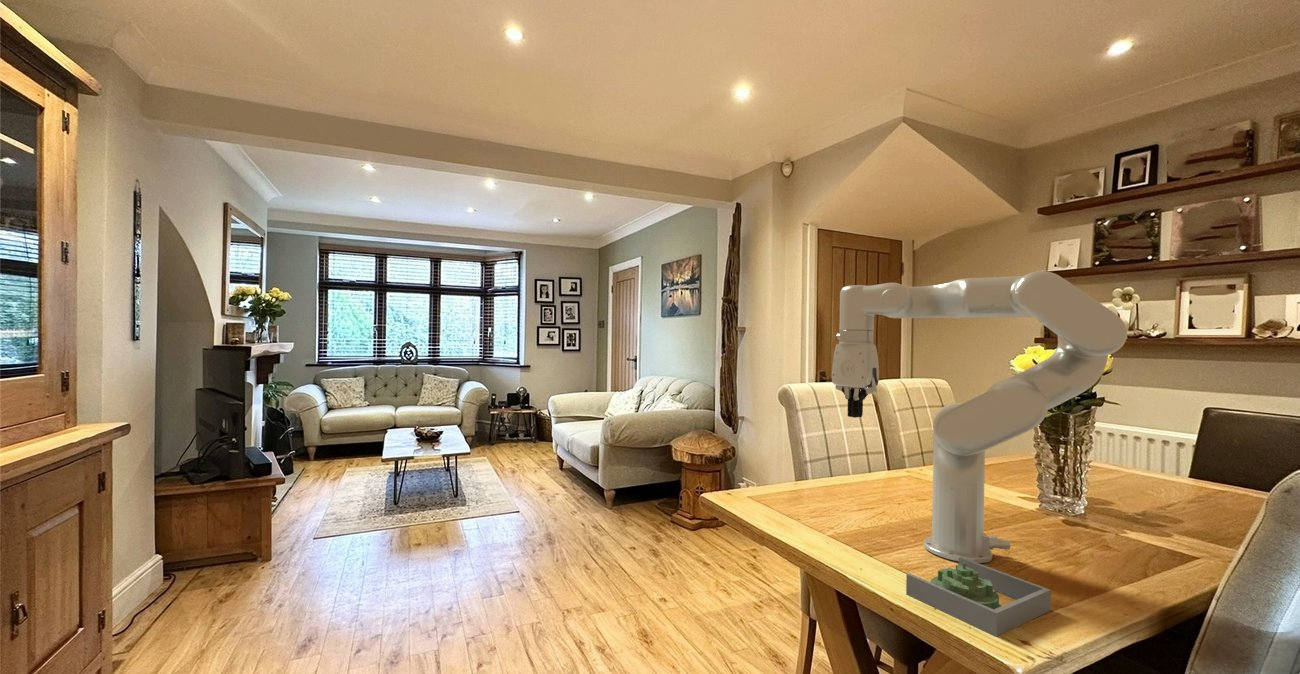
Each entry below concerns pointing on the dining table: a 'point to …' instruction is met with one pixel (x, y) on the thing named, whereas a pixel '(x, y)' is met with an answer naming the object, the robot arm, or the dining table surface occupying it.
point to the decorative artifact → (967, 585)
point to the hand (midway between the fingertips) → (854, 416)
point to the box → (993, 621)
